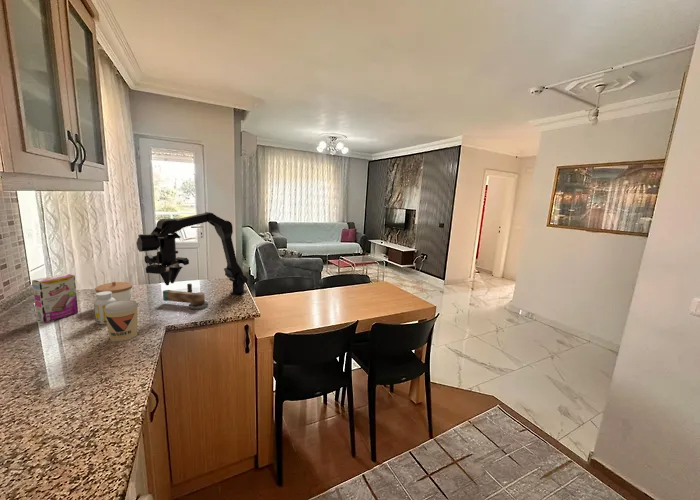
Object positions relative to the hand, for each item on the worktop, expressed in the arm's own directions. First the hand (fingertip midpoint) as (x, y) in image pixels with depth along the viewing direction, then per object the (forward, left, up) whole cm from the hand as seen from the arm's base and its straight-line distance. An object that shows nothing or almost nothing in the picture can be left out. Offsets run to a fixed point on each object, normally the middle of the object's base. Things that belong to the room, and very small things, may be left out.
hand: (169, 284), depth 125 cm
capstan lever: (-7, +1, -10) cm, 13 cm away
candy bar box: (+16, -35, -12) cm, 41 cm away
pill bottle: (+15, -15, -12) cm, 25 cm away
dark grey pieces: (-13, +3, -12) cm, 18 cm away
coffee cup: (+24, +1, -12) cm, 27 cm away
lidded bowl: (+1, -25, -12) cm, 28 cm away
